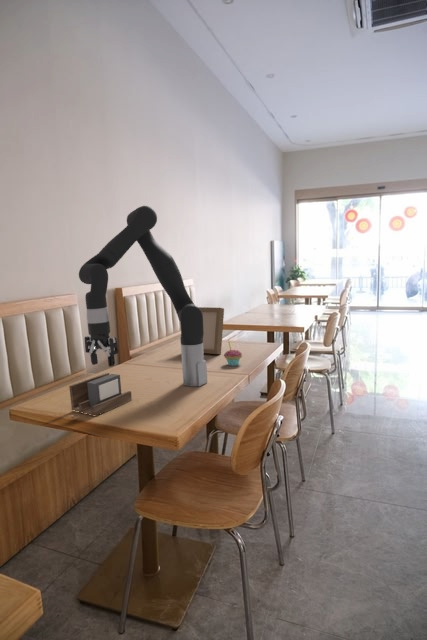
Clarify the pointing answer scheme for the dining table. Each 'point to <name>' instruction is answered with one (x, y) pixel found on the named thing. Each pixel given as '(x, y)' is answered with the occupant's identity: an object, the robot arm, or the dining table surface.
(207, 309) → the photo frame
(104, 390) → the mini frame
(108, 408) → the picture ledge
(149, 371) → the dining table surface
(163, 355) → the dining table surface
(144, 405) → the dining table surface
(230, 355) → the cupcake
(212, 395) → the dining table surface
